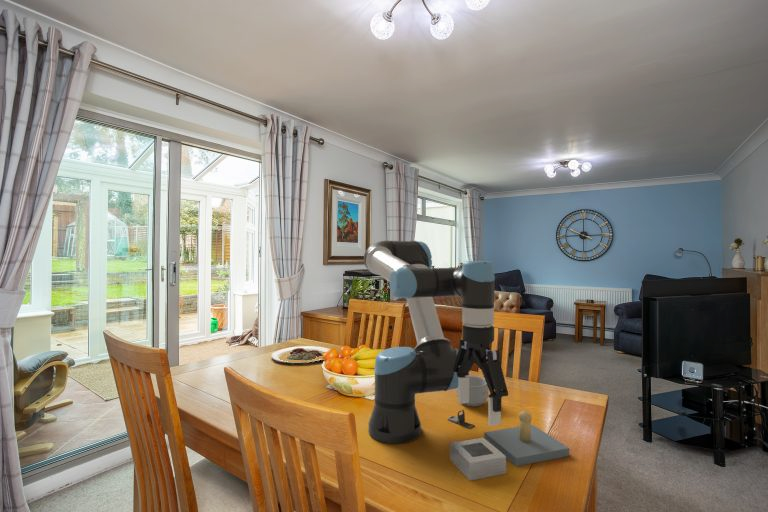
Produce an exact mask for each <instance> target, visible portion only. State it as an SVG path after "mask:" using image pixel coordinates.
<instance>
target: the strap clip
mask: <svg viewBox="0 0 768 512" xmlns="http://www.w3.org/2000/svg"><path fill="white" fill-rule="evenodd" d="M464 410H465V409H460V410H458V411H457V416H455V415H452V416H449V417H447V421H449V422H451V423H453V424H459V425H460V427H463V428H466V429H469V430H472V429H474V428H475V427H476V425H474V424H472V423H470V422H467V421H466V415H465V411H464ZM461 412H462V413H461ZM460 413H461V414H460Z"/></svg>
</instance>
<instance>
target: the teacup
mask: <svg viewBox="0 0 768 512" xmlns="http://www.w3.org/2000/svg"><path fill="white" fill-rule="evenodd" d="M465 377H467V376H465ZM468 377H469V403H462V404H464V405H465V406H467V407H480V406H482V405H484V403H486V402H487V400H488V396H489V389H488V386H487V383H486V381H485V378H484V376H478V375H470V374H468ZM456 396H457V397H458V388H456Z"/></svg>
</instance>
